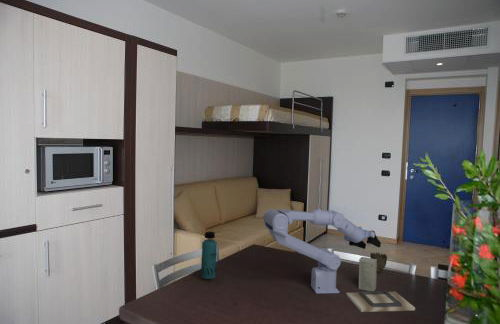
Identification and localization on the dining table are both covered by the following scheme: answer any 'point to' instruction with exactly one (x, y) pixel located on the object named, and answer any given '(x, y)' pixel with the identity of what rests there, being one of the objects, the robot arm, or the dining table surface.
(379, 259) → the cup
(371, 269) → the skincare box
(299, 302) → the dining table surface
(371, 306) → the socket board
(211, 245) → the beverage bottle
